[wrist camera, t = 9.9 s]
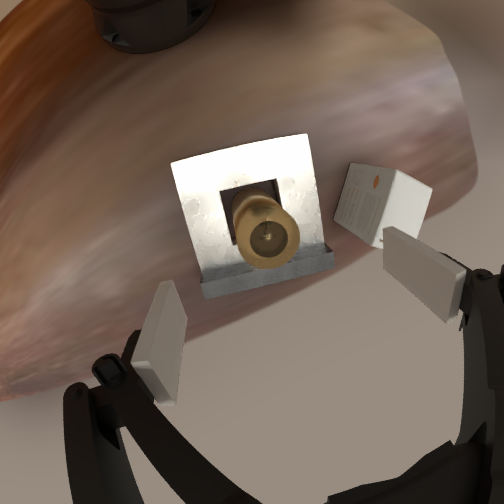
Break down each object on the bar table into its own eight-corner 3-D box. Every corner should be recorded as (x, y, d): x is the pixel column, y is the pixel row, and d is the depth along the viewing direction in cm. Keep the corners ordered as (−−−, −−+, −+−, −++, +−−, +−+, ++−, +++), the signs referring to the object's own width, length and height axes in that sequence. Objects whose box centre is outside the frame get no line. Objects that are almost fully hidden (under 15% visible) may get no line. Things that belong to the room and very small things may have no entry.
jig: (174, 162, 30) (165, 164, 24) (300, 134, 30) (315, 132, 25) (207, 277, 35) (205, 299, 30) (319, 250, 35) (334, 267, 30)
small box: (365, 230, 35) (409, 259, 25) (331, 219, 34) (370, 248, 24) (383, 175, 33) (434, 189, 23) (349, 161, 32) (397, 168, 22)
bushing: (236, 232, 33) (244, 275, 22) (226, 192, 32) (230, 216, 20) (276, 223, 33) (304, 261, 22) (268, 183, 32) (294, 202, 20)
